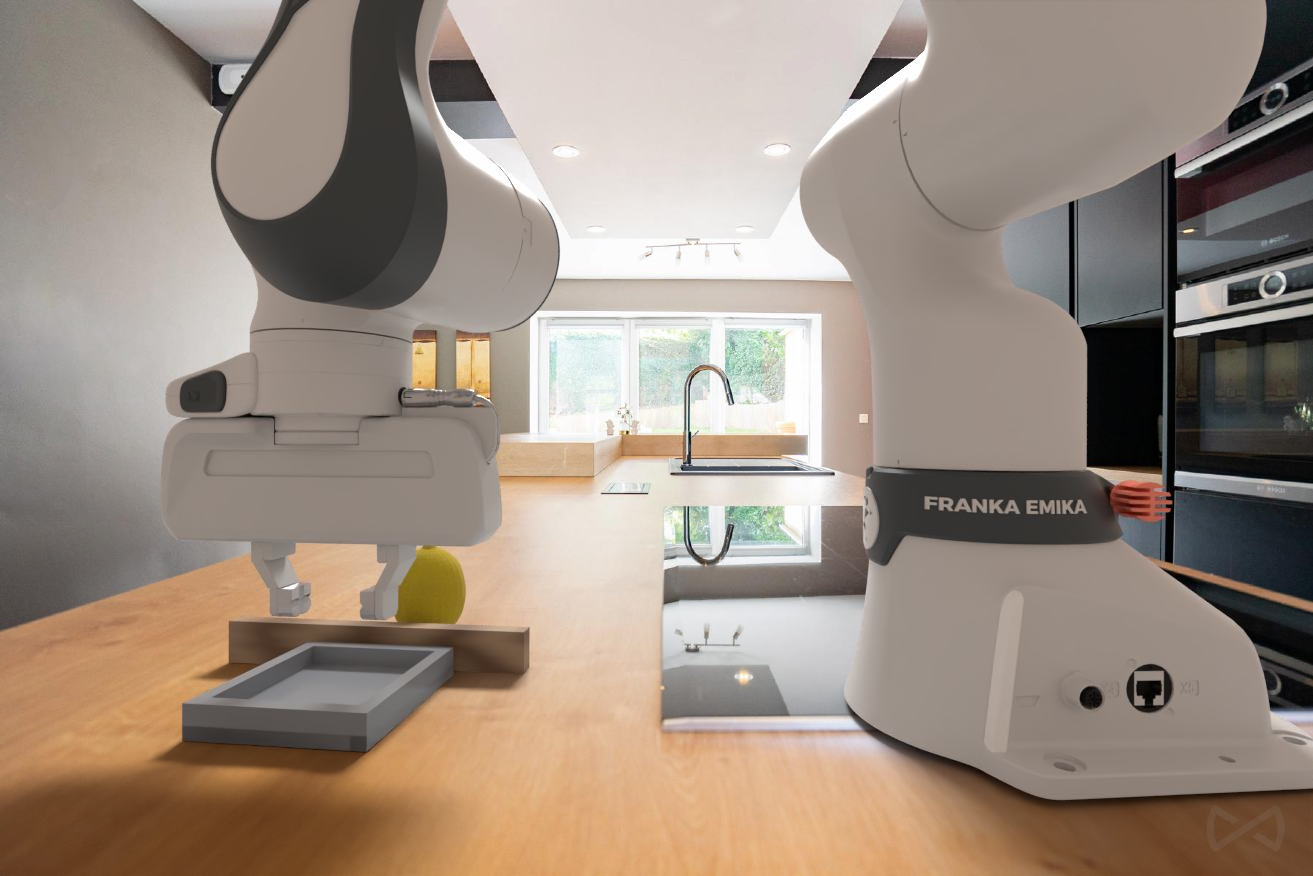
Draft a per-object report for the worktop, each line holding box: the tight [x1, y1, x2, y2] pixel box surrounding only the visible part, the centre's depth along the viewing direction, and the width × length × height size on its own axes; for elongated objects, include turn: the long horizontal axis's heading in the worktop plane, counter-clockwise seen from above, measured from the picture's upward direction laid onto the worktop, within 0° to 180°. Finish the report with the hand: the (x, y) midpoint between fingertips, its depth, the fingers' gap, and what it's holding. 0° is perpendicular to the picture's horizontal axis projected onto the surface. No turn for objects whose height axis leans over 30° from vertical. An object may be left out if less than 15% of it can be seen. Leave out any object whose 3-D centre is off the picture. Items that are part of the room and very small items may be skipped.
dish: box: [181, 641, 454, 753], centre depth 39 cm, size 10×10×2 cm
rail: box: [228, 615, 531, 674], centre depth 45 cm, size 22×1×3 cm, turn 84°
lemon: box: [394, 546, 467, 624], centre depth 50 cm, size 6×6×8 cm
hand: (334, 616), depth 39 cm, fingers open, 4 cm apart
